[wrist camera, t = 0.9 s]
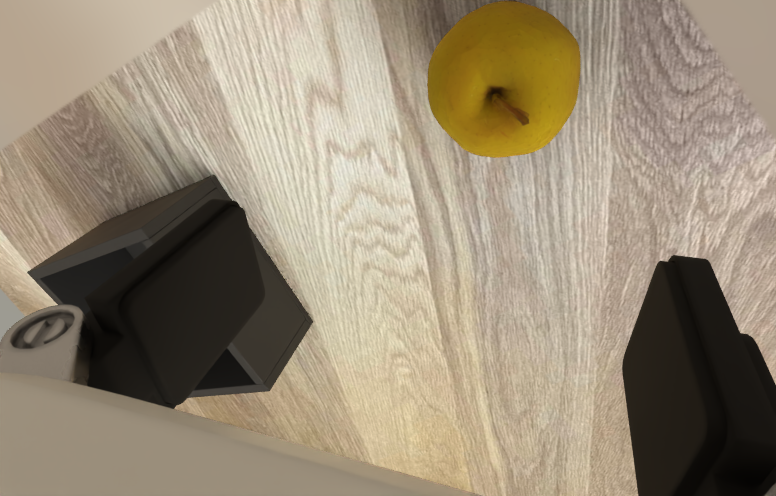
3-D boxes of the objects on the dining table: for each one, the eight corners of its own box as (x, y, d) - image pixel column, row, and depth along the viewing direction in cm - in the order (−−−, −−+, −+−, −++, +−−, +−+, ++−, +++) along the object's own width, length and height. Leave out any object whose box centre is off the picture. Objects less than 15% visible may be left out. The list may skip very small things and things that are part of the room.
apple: (592, 99, 23) (603, 165, 17) (471, 137, 26) (442, 205, 20) (562, -38, 20) (561, -20, 14) (431, 22, 23) (382, 59, 17)
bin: (103, 222, 40) (26, 272, 35) (214, 174, 33) (140, 228, 28) (202, 340, 46) (150, 401, 41) (313, 322, 39) (269, 391, 34)
